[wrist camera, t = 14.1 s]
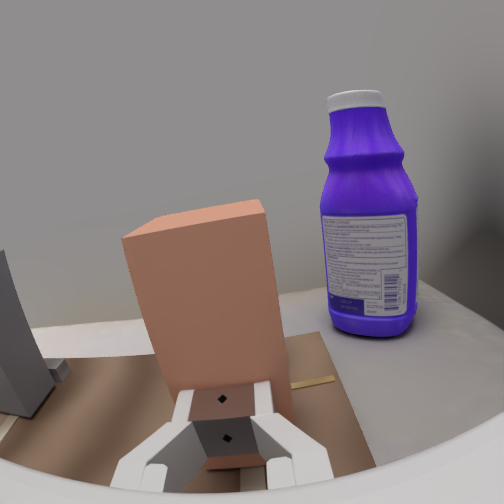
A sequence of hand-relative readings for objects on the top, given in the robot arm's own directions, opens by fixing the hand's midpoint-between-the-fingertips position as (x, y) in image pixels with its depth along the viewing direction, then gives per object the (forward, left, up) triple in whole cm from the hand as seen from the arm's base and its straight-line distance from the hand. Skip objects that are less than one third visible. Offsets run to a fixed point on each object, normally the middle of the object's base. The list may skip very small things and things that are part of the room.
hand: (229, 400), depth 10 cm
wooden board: (-8, +4, -6) cm, 11 cm away
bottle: (+10, +13, -6) cm, 18 cm away
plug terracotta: (0, +2, -4) cm, 5 cm away
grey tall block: (-16, +5, -4) cm, 17 cm away
